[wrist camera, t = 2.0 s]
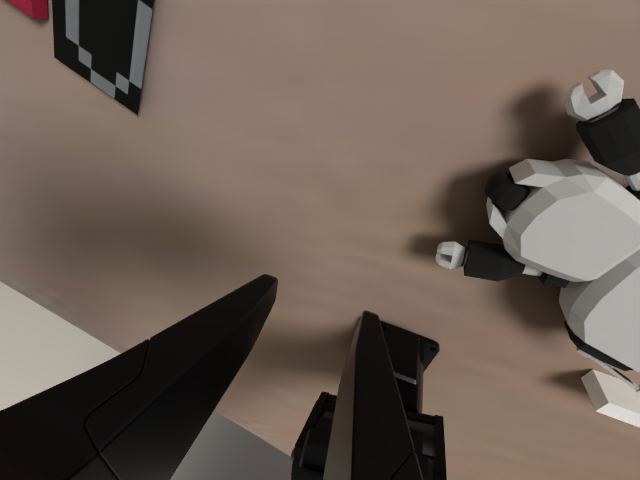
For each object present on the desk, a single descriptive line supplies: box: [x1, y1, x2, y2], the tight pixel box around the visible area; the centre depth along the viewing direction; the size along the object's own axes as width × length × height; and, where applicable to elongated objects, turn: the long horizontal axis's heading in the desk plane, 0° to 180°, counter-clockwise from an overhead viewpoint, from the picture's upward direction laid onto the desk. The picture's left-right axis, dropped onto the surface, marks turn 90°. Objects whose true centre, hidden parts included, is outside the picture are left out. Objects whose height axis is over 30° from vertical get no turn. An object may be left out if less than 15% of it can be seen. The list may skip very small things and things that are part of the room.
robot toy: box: [436, 70, 640, 395], centre depth 15 cm, size 12×4×15 cm
